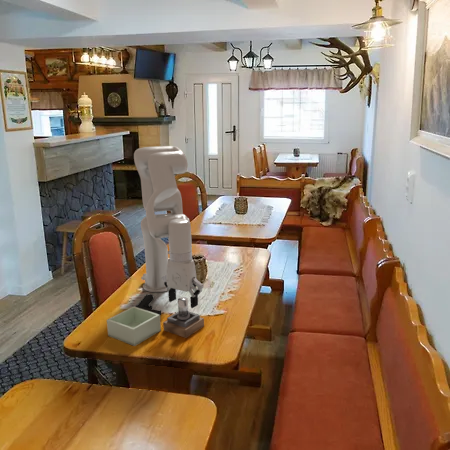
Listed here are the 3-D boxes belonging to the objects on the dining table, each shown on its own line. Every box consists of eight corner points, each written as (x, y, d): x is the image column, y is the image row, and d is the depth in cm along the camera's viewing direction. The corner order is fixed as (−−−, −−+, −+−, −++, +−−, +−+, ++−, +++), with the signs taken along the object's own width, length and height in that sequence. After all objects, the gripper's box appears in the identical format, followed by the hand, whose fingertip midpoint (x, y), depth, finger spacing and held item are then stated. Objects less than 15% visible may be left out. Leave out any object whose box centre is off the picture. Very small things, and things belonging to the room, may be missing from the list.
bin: (108, 335, 159) (106, 319, 157) (134, 321, 169) (133, 306, 167) (134, 346, 152) (133, 329, 150) (160, 330, 162) (159, 314, 160)
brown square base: (163, 330, 162) (163, 318, 161) (182, 319, 170) (181, 307, 169) (186, 337, 157) (185, 325, 155) (204, 326, 164) (203, 314, 163)
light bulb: (174, 321, 162) (173, 299, 160) (182, 316, 165) (181, 295, 163) (184, 324, 160) (183, 302, 157) (192, 319, 163) (191, 298, 161)
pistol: (171, 294, 186) (145, 292, 188) (155, 315, 167) (126, 312, 169) (171, 302, 187) (145, 299, 189) (155, 324, 168) (126, 320, 170)
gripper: (154, 255, 158) (157, 302, 162) (194, 263, 148) (196, 313, 152) (168, 249, 164) (171, 295, 168) (208, 257, 154) (210, 305, 158)
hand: (183, 303), depth 160 cm, fingers open, 9 cm apart
